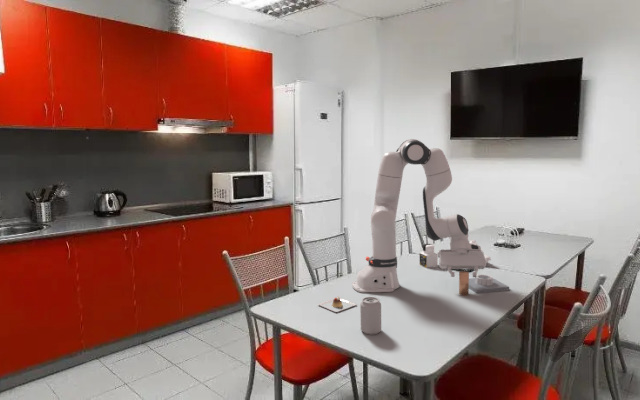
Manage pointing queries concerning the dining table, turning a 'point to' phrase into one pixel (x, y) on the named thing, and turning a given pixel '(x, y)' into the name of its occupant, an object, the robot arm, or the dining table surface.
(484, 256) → the soft serve ice cream
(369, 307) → the can
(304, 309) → the dining table surface
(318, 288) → the dining table surface
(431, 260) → the medicine bottle
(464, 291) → the copper tube
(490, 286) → the collar plate
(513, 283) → the dining table surface
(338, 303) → the dessert
